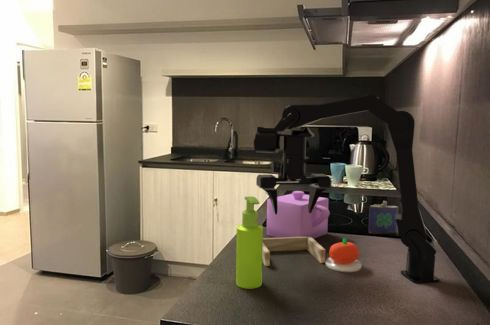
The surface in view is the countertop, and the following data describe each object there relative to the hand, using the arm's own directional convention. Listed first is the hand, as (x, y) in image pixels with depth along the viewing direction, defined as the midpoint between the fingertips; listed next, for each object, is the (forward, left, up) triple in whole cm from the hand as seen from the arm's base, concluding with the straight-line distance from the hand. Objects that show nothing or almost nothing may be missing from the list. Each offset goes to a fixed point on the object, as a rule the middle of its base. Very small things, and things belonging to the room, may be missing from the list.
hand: (292, 213), depth 109 cm
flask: (+20, -37, -13) cm, 44 cm away
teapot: (+23, -8, -13) cm, 28 cm away
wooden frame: (+2, 0, -12) cm, 13 cm away
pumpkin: (-6, -12, -12) cm, 18 cm away
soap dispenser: (-14, +14, -13) cm, 24 cm away
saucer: (-6, -12, -12) cm, 18 cm away
